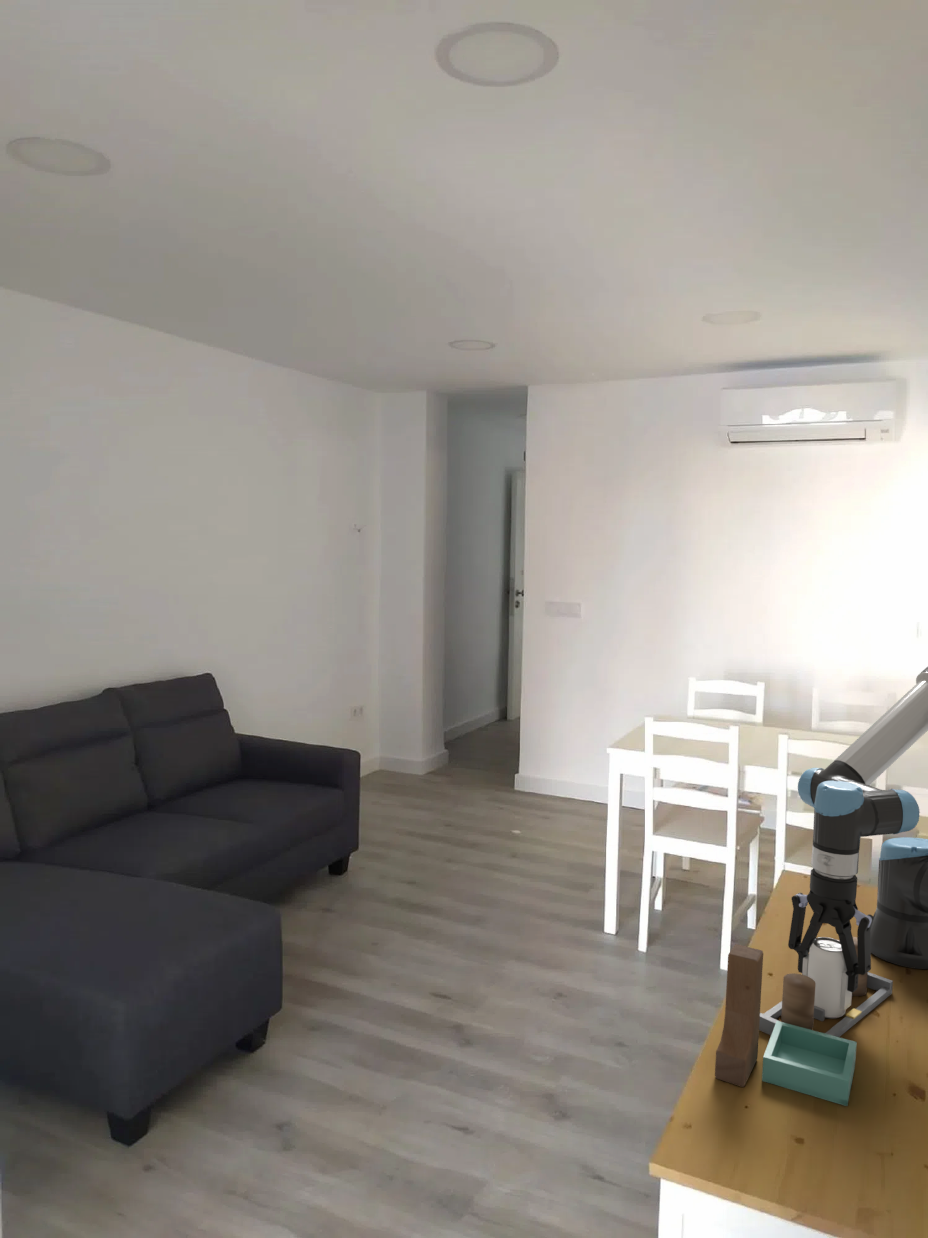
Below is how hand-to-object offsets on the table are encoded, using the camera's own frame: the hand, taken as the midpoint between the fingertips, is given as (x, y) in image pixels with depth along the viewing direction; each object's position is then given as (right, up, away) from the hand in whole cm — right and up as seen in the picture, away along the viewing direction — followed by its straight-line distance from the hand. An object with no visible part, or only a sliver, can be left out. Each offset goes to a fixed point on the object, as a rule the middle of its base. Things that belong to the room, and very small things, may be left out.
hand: (825, 999), depth 157 cm
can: (0, -2, 0) cm, 2 cm away
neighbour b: (-8, -2, -7) cm, 11 cm away
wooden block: (-21, -3, -18) cm, 28 cm away
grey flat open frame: (0, -2, 0) cm, 2 cm away
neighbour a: (+8, -2, +8) cm, 11 cm away
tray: (-10, -3, -19) cm, 22 cm away
